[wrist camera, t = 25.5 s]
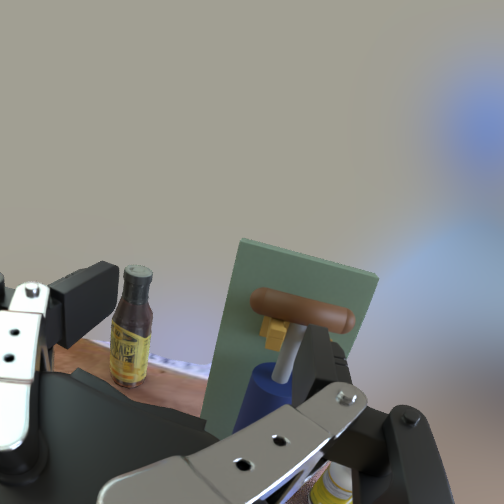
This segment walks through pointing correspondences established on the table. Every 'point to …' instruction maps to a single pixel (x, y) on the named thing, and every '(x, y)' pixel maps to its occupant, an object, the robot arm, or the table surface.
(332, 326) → the t-handle plunger
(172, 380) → the table surface
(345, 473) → the pill bottle
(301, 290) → the green panel
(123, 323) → the sauce bottle
